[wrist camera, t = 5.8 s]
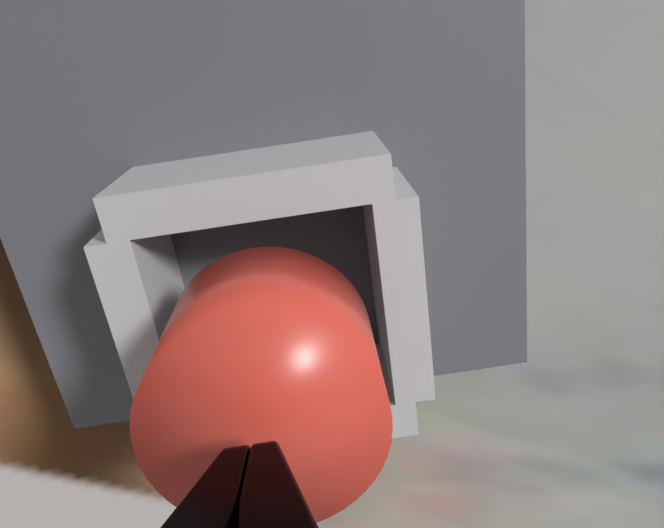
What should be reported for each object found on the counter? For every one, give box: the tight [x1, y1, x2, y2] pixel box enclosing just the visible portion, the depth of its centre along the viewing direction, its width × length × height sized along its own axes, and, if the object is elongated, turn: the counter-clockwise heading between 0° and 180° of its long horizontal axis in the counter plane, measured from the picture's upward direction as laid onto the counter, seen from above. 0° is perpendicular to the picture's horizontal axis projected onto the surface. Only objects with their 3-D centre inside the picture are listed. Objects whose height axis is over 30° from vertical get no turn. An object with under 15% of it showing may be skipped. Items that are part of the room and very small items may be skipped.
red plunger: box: [129, 247, 393, 523], centre depth 11 cm, size 4×4×3 cm
